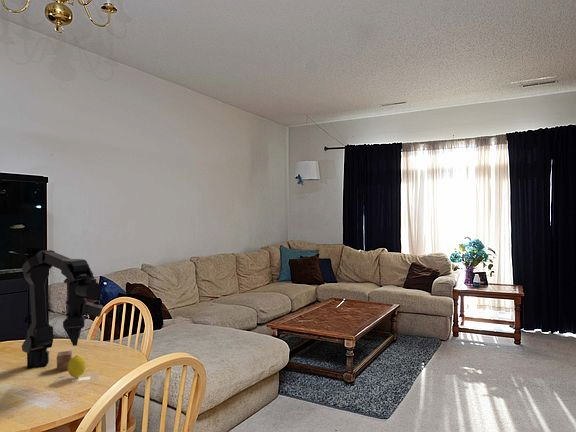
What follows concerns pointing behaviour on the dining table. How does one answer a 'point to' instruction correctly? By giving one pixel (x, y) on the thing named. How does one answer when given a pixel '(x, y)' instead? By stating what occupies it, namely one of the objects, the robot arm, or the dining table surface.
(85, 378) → the envelope
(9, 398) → the dining table surface
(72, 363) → the lemon
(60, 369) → the walnut block
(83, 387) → the dining table surface
